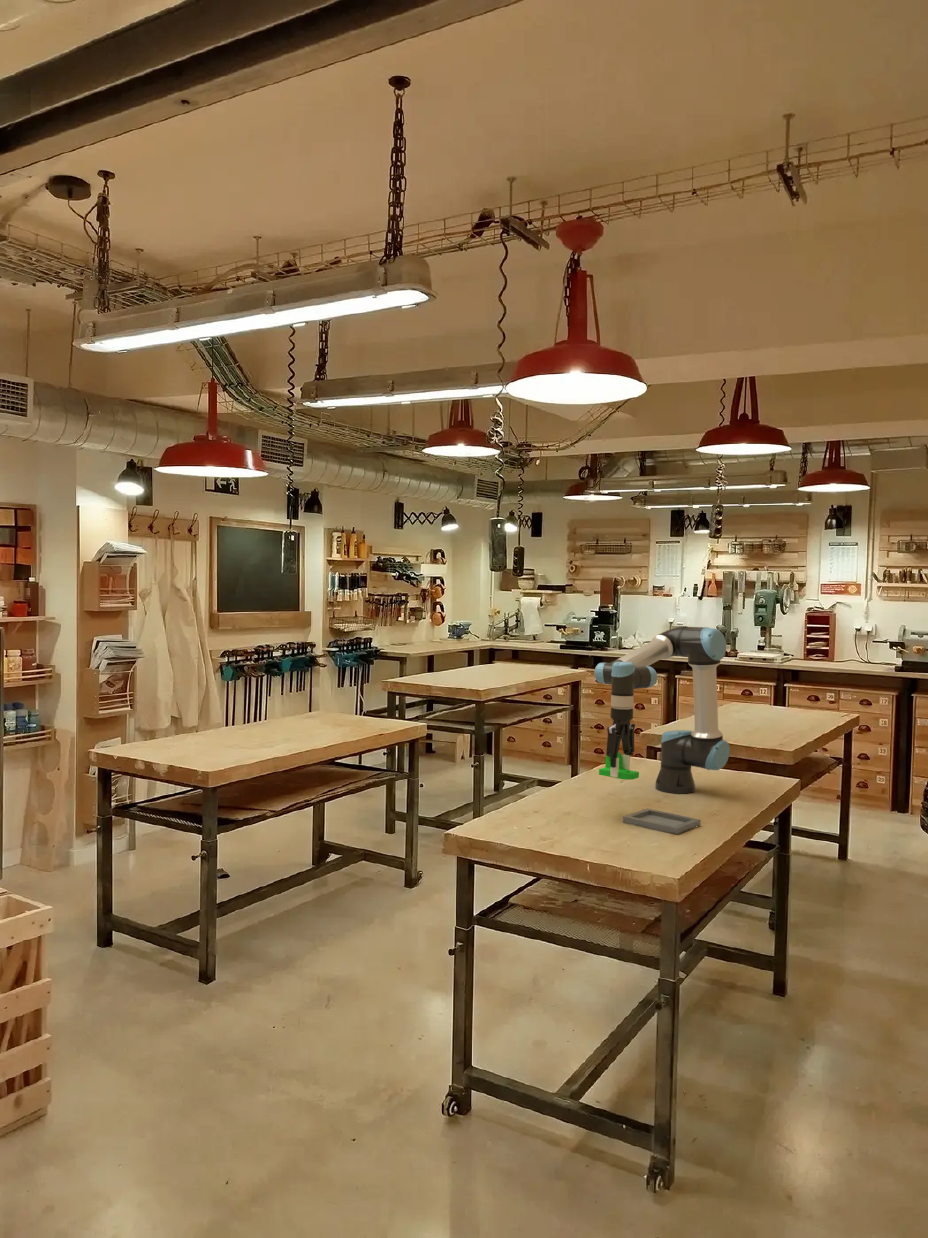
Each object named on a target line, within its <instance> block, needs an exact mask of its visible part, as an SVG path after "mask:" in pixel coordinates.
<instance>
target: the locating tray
mask: <svg viewBox="0 0 928 1238" xmlns="http://www.w3.org/2000/svg"><path fill="white" fill-rule="evenodd" d="M701 821H702V819H699V818H694V817H690V816H685V815H680V814H676V813H672V812H671V813H670V812H666V811H662V810H658V809H652V808H648V807H647V808H644V809H642V810H638V811H636V812H633V813H630V814H626V815H624V816H622V823H625V824H628V825H631V826H632V825H633V826H636V827H641V828H645V829H649V830H655V831H658V832H663V833H667V834H671V835H672V834H673V835H677V836H678V835H681V834H683V833H685V832H687V831H688V832H689V831H690V829H691V830H692V828H693V829H695V828H694V827H696V826H698V827H701V824H702V823H701ZM696 828H697V827H696ZM680 833H681V834H680Z"/></svg>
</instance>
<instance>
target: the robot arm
mask: <svg viewBox="0 0 928 1238" xmlns="http://www.w3.org/2000/svg"><path fill="white" fill-rule="evenodd" d="M726 652H727V641H726V637H725V636H724V634H723V633H722V632H721V630H719V629H717V628H713V627H712V628H711V627H707V626H706V627H705V626H685V625H684V626H677V627H673V628H670V629H668V630H665V631H663V632H661V633H659V634H657V635H655V636H654V637H653V638H652V639H651V641H649V642H648V643H645V644H644V645H642V646H640V647H638V648H636V649H634V650H632V651H629V653H627V654H626V653H625V655H623V656H621V657H618V658H617V659H615V660H613V661H611V662H599V663H597V665H596V666H595V669H594V672H593V673H594V679H595V680H596V682H597V683H600V684H604V685H608V686H609V685H610V686H611V692H610V693H611V695H610V707H611V708H610V715H609V716H610V719H612V725H611V726H607V728H606V730H607V740H606V754H605V756H606V755H607V756H608V757H610V758H611V760H610V776H612V777H611V778H613V777H618V769H619V758H617V756H618V752H620V751H619V750H620V747H622V752H623V753H621V755H622V767H623V768H624V769H626V770H631V769H630V763H631V756H634V752H635V727H636V723H632V722H631V721H632V720H633V719H634V709H633V707H634V700H635V699H634V697H635V696H634V695H635V694H634V692H635V690H637V689H647V688H652V687H654V686H655V685H656V684H657V681H658V673H657V672H656V669H654V668H653V667H652V666H651V665H653V664H654V663H656V662H658V661H660V660H667V659H669V658H672V657H681V658H682V657H683V658H687V664H688V665H689V666H690V667H691V668H692V684H693V686H692V687H693V712H694V713H693V714H694V715H693V716H694V730H693V731H692V730H688V729H683V730H681V729H679V730H677V729H676V730H668V731H667V730H666V731H664V732H663V733H662V735H661V741H660V744H661V745H660V769H659V772H658V774H657V778H656V780H655V789H656V790H657V791H660V792H665V793H670V794H671V793H672V794H692V793H694V792H695V791H696V784H695V780H694V776H693V773H692V767H694V768H699V769H700V768H701V769H704V770H708V771H709V770H710V771H719V770H721V769H722V768H724V767H725V766H726V764H727V762H728V760H729V757H730V751H731V746H730V744H729V742H728V741H726V740H724V739H723V738H724V737H723V735H724V734H723V732H722V731H721V730H720V729H719V711H718V710H719V709H718V708H719V707H718V685H717V684H718V683H717V681H718V680H717V679H718V677H717V667H718V666H720V664H721V660H723V659H724V657H725V656H726ZM621 744H622V745H621ZM620 745H621V746H620ZM693 791H694V792H693ZM691 792H692V793H691Z"/></svg>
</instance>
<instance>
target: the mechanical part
mask: <svg viewBox="0 0 928 1238" xmlns="http://www.w3.org/2000/svg"><path fill="white" fill-rule="evenodd" d="M617 758H619V769H618V777H612V776H610V760H611V758H610V757H608V756H607V755H606V754H605V767H601V768H599V769H598V775H599V776H604V777H609V778H615V779H619V780H626V781H627V780H635V779H638V778H640V772H639V771H637V770H631V769H629V770H626V769H624V768H623V767H622V753H621V752H620V751H618V756H617Z"/></svg>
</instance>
